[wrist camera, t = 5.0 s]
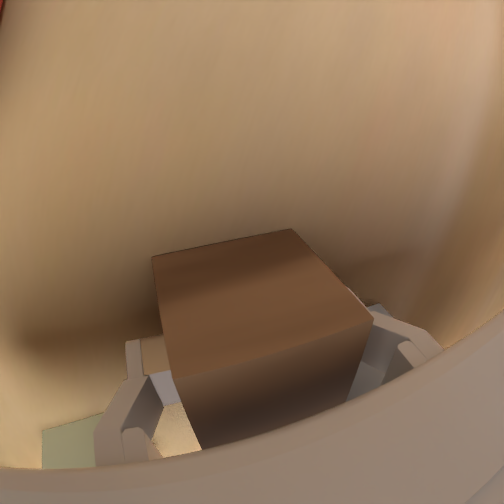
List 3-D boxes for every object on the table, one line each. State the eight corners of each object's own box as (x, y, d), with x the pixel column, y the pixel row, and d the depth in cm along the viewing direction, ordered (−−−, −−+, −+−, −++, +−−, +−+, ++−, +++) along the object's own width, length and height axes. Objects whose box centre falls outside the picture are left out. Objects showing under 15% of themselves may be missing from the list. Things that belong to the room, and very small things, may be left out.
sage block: (42, 429, 13) (44, 505, 9) (104, 411, 14) (115, 498, 10) (93, 459, 16) (102, 523, 12) (152, 443, 16) (169, 513, 12)
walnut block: (151, 257, 10) (172, 379, 6) (291, 228, 11) (374, 318, 7) (177, 354, 13) (206, 458, 9) (286, 326, 14) (340, 413, 10)
